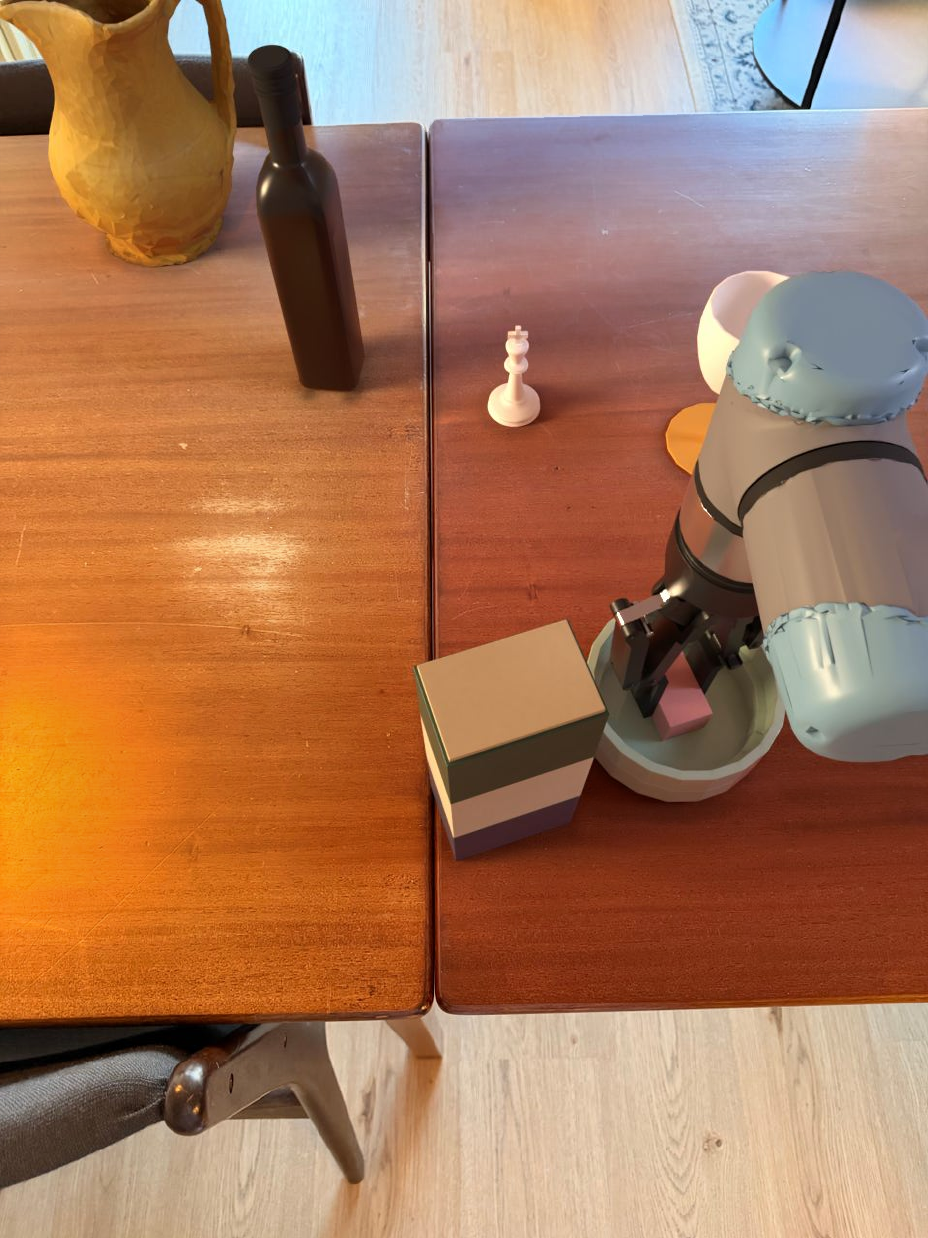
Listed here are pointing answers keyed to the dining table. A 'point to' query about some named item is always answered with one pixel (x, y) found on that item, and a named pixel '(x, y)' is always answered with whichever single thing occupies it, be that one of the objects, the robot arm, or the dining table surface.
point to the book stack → (509, 780)
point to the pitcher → (135, 123)
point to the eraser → (681, 702)
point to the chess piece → (515, 387)
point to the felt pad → (509, 690)
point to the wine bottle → (305, 234)
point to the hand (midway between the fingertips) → (665, 693)
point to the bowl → (698, 757)
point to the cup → (717, 355)
